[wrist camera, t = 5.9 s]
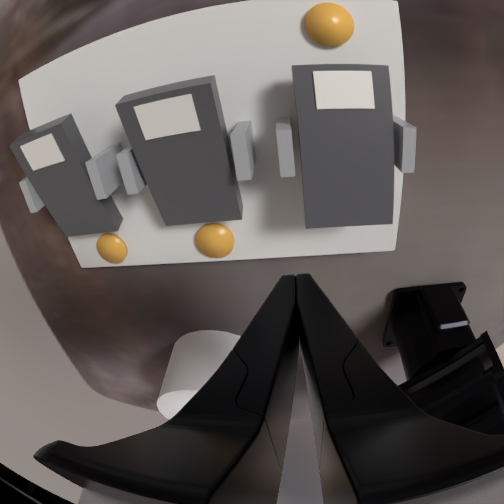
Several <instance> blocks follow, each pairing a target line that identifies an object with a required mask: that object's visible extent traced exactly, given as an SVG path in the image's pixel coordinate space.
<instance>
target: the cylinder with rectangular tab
mask: <svg viewBox="0 0 504 504" xmlns="http://www.w3.org/2000/svg"><path fill="white" fill-rule="evenodd" d="M240 337H241V336H238V335H235V334H232V333H229V332H223V331H216V330H200V331H195V332H191V333H188V334H186V335H184V336H182V337H180V338H179V339H178V340H177V341H176V342H175V344H174V347H173V351H172V354H171V357H170V360H169V363H168V367H167V370H166V373H165V377H164V380H163V383H162V387H161V390H160V394H159V397H158V400H157V407H158V410H159V411H160V412H161V413H162V414H163V415H164V416H165V417H166V418H167V419H169V420H170V419H171V418H172V417H174V416H175V415H176V414H177V413H178V412H179V411H180V410H181V409H182V408H183V406H184V405H185V404H186V403H187V402H188V401H189V400H190V399H191V398H192V397H193V396H194V395H195V394H196V393H197V392H198V391H199V390H200V389H201V387H202V386H203V385H204V384H205V383H206V382H207V381H208V380H209V379H210V377H211V376H212V375H213V374H214V373H215V372H216V370H217V369H218V368H219V366H220V365H221V364H222V362H223V361H224V360H225V358H226V357H227V356H228V354H229V353H230V351H231V350H233V347H234V346H235V344H236V343H237V341H238V340H239V338H240Z"/></svg>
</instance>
